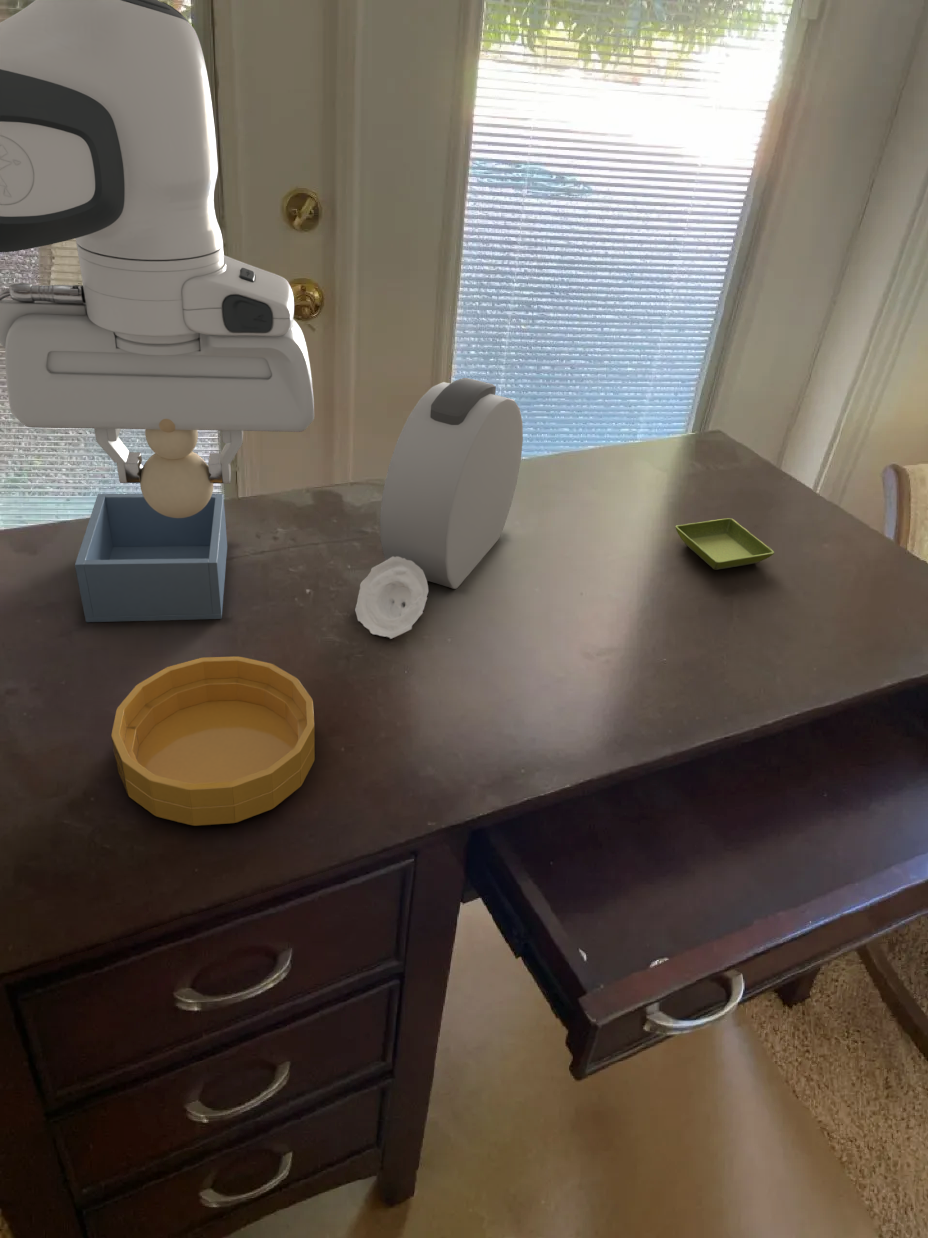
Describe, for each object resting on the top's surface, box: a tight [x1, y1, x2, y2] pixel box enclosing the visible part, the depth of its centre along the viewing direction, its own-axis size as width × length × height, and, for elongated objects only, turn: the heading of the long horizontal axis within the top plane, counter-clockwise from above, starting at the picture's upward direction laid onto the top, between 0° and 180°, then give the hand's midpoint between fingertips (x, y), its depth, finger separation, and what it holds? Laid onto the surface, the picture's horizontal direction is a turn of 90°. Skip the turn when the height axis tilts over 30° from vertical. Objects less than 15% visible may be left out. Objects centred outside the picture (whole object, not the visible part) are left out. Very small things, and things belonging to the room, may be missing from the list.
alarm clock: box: [379, 377, 524, 590], centre depth 96 cm, size 21×8×20 cm, turn 156°
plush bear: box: [139, 419, 214, 518], centre depth 65 cm, size 5×5×9 cm
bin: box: [74, 493, 228, 623], centre depth 90 cm, size 13×14×7 cm
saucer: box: [674, 517, 775, 571], centre depth 106 cm, size 9×9×2 cm
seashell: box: [354, 557, 429, 640], centre depth 89 cm, size 8×5×8 cm
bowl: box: [110, 656, 316, 827], centre depth 71 cm, size 15×15×4 cm
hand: (177, 479), depth 66 cm, fingers closed on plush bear, 5 cm apart
